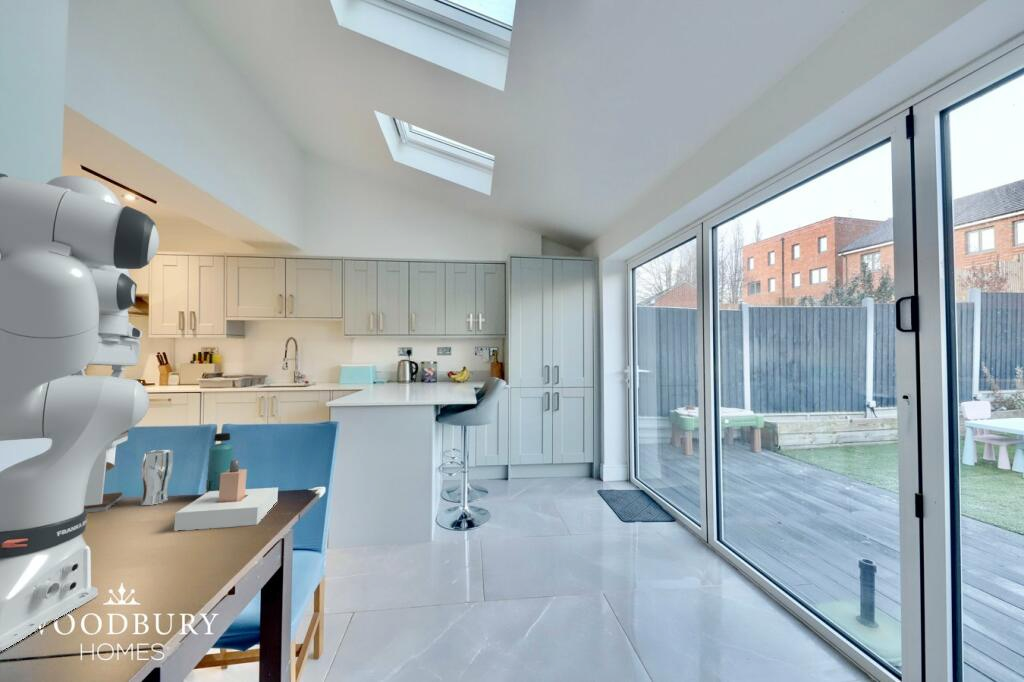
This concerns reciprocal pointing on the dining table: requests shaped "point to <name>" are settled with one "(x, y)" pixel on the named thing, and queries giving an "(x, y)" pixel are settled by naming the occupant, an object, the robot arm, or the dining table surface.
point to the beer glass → (156, 476)
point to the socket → (226, 510)
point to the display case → (102, 479)
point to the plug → (232, 484)
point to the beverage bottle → (218, 461)
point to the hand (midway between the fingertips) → (98, 383)
